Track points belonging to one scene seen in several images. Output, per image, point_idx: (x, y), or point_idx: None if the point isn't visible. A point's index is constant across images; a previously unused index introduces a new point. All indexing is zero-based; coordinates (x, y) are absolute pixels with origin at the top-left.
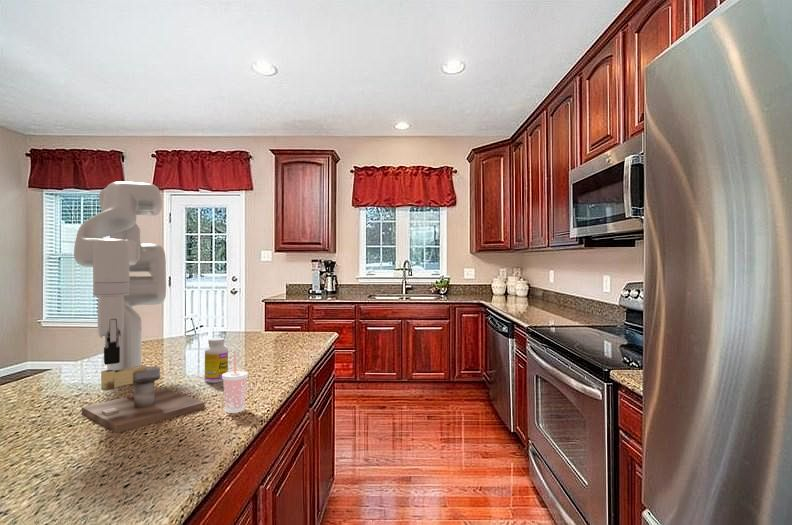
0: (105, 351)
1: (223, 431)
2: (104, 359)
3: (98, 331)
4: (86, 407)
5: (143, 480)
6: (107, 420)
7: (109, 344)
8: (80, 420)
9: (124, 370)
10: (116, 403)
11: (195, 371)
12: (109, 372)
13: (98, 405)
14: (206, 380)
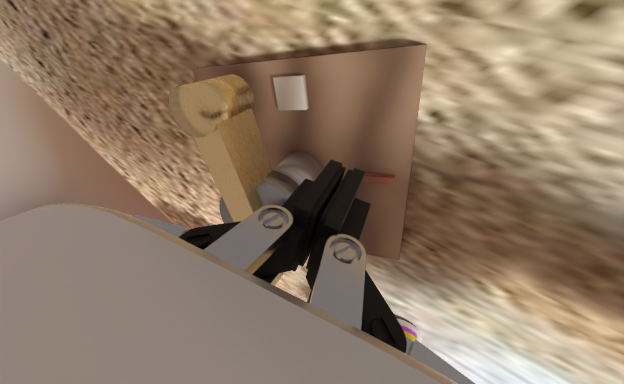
0: (302, 199)
1: (149, 179)
2: (324, 170)
3: (103, 281)
4: (405, 57)
5: (25, 30)
6: (238, 65)
7: (218, 227)
8: (352, 21)
9: (209, 167)
10: (368, 136)
11: (523, 373)
12: (171, 110)
13: (393, 94)
14: (398, 321)
